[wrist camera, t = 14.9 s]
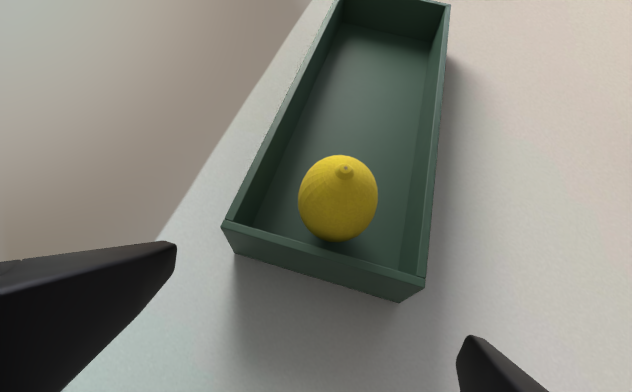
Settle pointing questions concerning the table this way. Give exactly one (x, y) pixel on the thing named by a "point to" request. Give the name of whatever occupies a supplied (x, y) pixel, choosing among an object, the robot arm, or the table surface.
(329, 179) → the lemon
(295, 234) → the green rectangular tray
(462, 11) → the table surface
